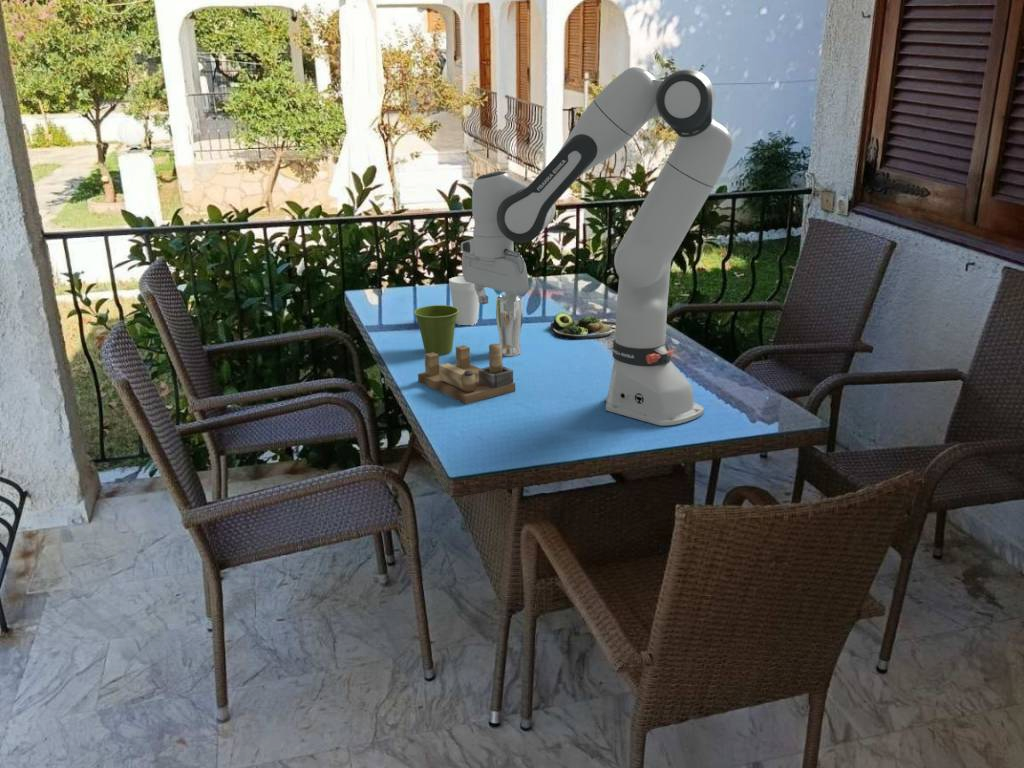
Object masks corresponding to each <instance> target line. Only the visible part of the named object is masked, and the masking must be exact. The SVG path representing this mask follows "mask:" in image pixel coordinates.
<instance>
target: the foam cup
mask: <svg viewBox="0 0 1024 768" xmlns="http://www.w3.org/2000/svg"><path fill="white" fill-rule="evenodd" d="M448 287H449V289H450V297H451V302H452V306H453V307H456V308H458V309H459V312H458V313H457V318H456V322H455V325H457V324H458V325H457V326H460V325H471V326H475V325H477V324H478V319H479V313H480V312H479V311H480V310H479V309H480V303H479V301H478V295H477V293H476V290H475V285H474V284H473V283H469V282H466V281H465V279H464V277H463V275H459V276H454V277H453V276H452V277H451V278H448ZM476 323H477V324H476ZM474 324H475V325H474Z"/></svg>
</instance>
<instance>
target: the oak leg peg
mask: <svg viewBox="0 0 1024 768" xmlns="http://www.w3.org/2000/svg"><path fill="white" fill-rule="evenodd" d="M488 350H489V351H488V356H489V357H488V358H489V359H488V360H489V361H488V365H489V366H488V367H489V373H492V374H498V373H501V372H502V366H503V356H502V345H501V344H500V343H491V344H489V346H488Z"/></svg>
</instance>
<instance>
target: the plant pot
mask: <svg viewBox="0 0 1024 768" xmlns="http://www.w3.org/2000/svg"><path fill="white" fill-rule="evenodd" d="M458 312H459V309H458V308H456V307H453V305H445V304H434V305H427V306H423V307H419V308H416V309H414V311H413V314H414V315H415V317H416V321H417V323H418V327H419V330H420V335H421V339H422V340H421V342H422V344H423V348H424V349H423V350H424V353H425V354H428V353H432V352H434V353H436V354H438V355H441V356H444V355H448V354H450V353H452V351H453V345H454V336H455V330H456V329H455V328H456V318H457V313H458Z"/></svg>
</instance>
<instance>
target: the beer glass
mask: <svg viewBox="0 0 1024 768" xmlns="http://www.w3.org/2000/svg"><path fill="white" fill-rule="evenodd" d="M506 300H507V297H506V294H502V295H498V296H497V297H496V303H495V319H496V326H497V331H498V337H499V344H501V345H502V357H517V356H520V355H521V354H522V348H521V332H522V325H523V321H524V320H523V317H524V309H523V306H524V305H523V297H522V296H521V295H520V294H519V295H517V297H516V300H515V302H514V310H513V311H511V312H507V311H504V309H503V308H504V307H503V303H506Z"/></svg>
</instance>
